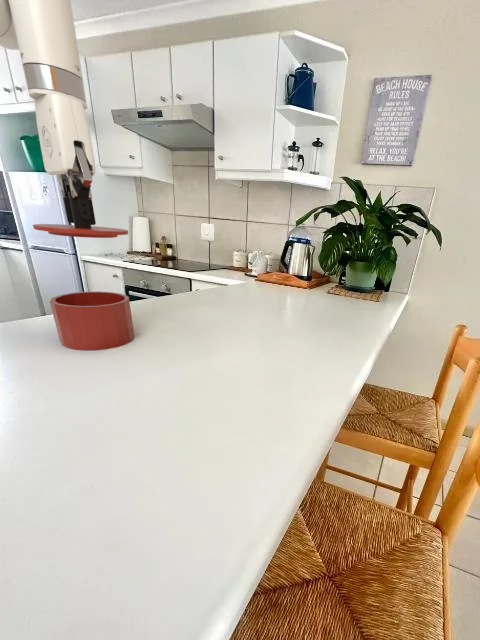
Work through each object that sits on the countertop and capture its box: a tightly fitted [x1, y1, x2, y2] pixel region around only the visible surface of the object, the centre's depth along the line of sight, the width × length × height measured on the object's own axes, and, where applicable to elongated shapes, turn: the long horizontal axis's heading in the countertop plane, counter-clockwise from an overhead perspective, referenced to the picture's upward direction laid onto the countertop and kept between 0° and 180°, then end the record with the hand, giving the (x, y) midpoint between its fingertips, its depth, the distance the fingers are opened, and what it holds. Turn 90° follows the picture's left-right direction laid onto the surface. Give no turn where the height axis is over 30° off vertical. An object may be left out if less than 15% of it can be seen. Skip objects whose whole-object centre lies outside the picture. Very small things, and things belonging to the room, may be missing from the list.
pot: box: [49, 291, 135, 351], centre depth 67 cm, size 14×14×8 cm
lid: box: [32, 191, 129, 239], centre depth 57 cm, size 15×15×7 cm
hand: (81, 222), depth 57 cm, fingers closed on lid, 2 cm apart
